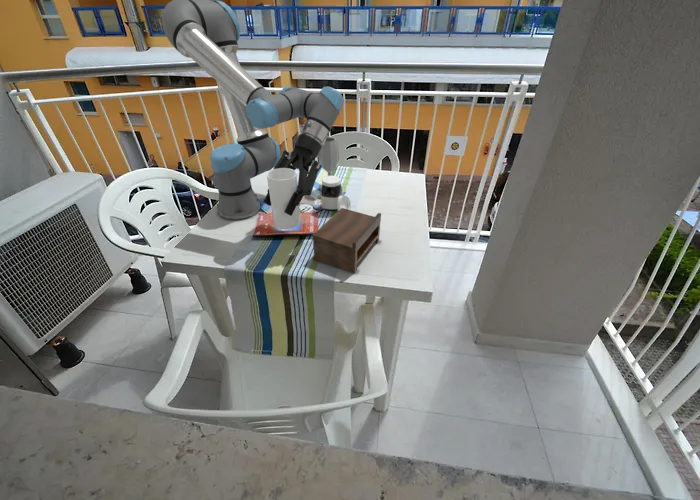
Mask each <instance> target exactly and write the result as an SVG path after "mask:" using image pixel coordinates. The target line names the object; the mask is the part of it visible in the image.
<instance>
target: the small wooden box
mask: <svg viewBox="0 0 700 500" xmlns="http://www.w3.org/2000/svg"><path fill="white" fill-rule="evenodd" d="M381 220H382V213H381V212H377V214H376V215H375V216H373V215H370V214H367V213H363V212H359V211H355V210H351V209H350V210H348V209H344V208H341V209H340V210H339V211H336V213H335V214H333V216H331V217H330V218H329V219H328V220H327V221H325V223H324V224H323V225H322V226H320V227H319V228H318V229H317V230H316V232H314V233H313V234H312V245H313V246H312V247H313V257H314V258H313V259H314V260H316V261H319V262H322V263H325V264H327V265H331V266H332V267H333V266H334V267H336V268H339V269H342V270H345V271H347V272H351V273H353V274H356V273H357V270H358V269H357V268H358V267H357V266H358V263H359V262H360V261H361V260H362V259H363V257H364V256H365V255H366V253H367V252H368V251H369V250H370V248H371V247H372V246H373V244H374V243H375V244H378V243H379V242H380V234H381Z"/></svg>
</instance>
